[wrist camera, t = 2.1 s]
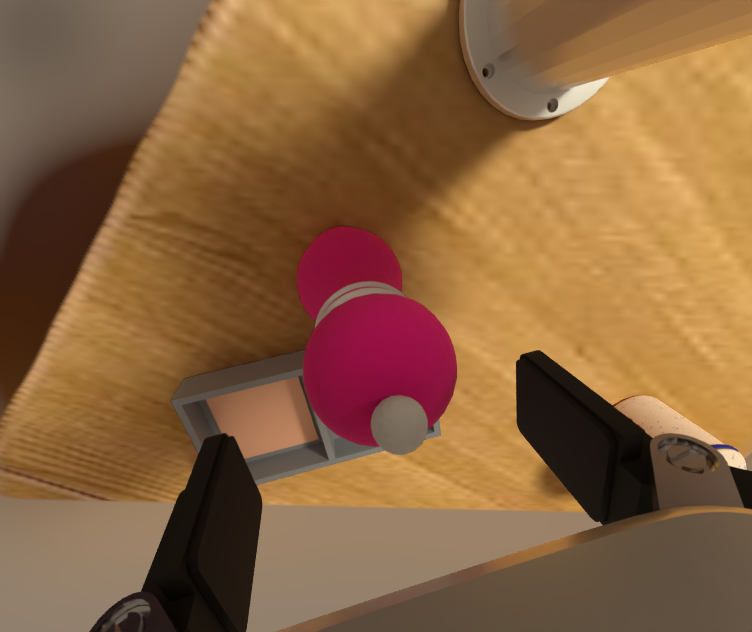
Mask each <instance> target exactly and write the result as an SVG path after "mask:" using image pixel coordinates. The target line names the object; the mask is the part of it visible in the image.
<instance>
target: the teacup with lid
mask: <svg viewBox="0 0 752 632" xmlns="http://www.w3.org/2000/svg"><path fill="white" fill-rule="evenodd" d="M614 407H615V408H616V409H617V410H619V411H620V412H621V413H623V414H624V415H625V416H627V417H628V418H629V419H631V420H632V421H633V422H635V423H636V424H637V425H638V426H640V427H641V428H642V429H644V430H645V432H646V433H647V434H648V435H650V436H651V437H652V438H654V437H655V436H658V435H660V434H666V433H675V434H683V435H687V436H691V437H694V438H696V439H699V440H701V441H704V442H706V443H707V444H709V445H710V446H712V447H714V448H715V449H716V450H717V451H719V452H720V453H721V454H722V455H723V456H724V458H725V460H726V461H727V463H728V466H732V467H736V468H740V469H744V470H746V462H745V460H744V458H743V456H742V455H741V454H740V453H739V451H738V450H737V449H735V448H734V447H732V446H729V445H725V444H723V443H722V442H720V441H719V440H717V439H716V438H714V437H713V436H711V435H710V434H708V433H707V432H705V431H704V430H702V429H701V428H699V427H698V426H697V425H695V424H694V423H692V422H691V421H689V420H688V419H686V418H685V417H683V416H682V415H680V414H679V413H677V412H676V411H674V410H673V409H671V408H670V407H668V406H667V405H665V404H664V403H662V402H661V401H659V400H658V399H656V398H654V397H651V396H646V395H641V396H634V397H631V398H628V399H626V400H624V401H622V402H620V403H618V404H617V405H615V406H614Z"/></svg>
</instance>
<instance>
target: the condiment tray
mask: <svg viewBox="0 0 752 632" xmlns="http://www.w3.org/2000/svg"><path fill="white" fill-rule="evenodd" d="M305 350H306V349H305ZM305 350H301V351H297V352H293V353H289V354H284V355H280V356H276V357H272V358H268V359H264V360H259V361H255V362H251V363H247V364H243V365H238V366H234V367H230V368H226V369H222V370H218V371H213V372H209V373H205V374H201V375H197V376H192V377H188V378H184V379H183V381H182V382H181V384H180V386H179V387H178V389H177V391H176V392H175V394H174V396H173V397H172V399H171V403H172V405H173V407H174V409H175V411H176V412H177V414H178V416H179V418H180V420H181V422H182V424H183V426H184V427H185V429H186V431H187V433H188V435H189V437H190V439H191V441H192V442H193V444H194V446H195V448H196V450H197V452H198V454H199V451H200V449H201V446H202V444H203V441H204V439H205V438H207V437H210V436H214V435H218V434H222V433H226V434H227V435H228V436H234V437H235V439H236V441H237V444H238V446H239V448H240V450H241V452H242V455H243V457H244V459H245V461H246V463H247V466H248V468H249V470H250V472H251V475H252V477H253V479H254V481H255V483H256V485H259V484H263V483H266V482H270V481H274V480H277V479H281V478H285V477H289V476H292V475H296V474H300V473H303V472H307V471H311V470H314V469H318V468H322V467H326V466H329V465H333V464H337V463H340V462H344V461H348V460H352V459H355V458H359V457H363V456H366V455H370V454H374V453H377V452H381V451H385V450H384V449H383V448H382V447H372V446H364V445H359V444H356V443H353V442H351V441H348V440H346V439H344V438H342V437H340V436H338V435H336V434H335V433H334V432H332V431H331V430H330V429H329V428H328V427H327V426H326V425H324V424H323V423H322V421H321V420H320V419H319V417H318V416H317V415H316V413H315V412H314V410H313V408H312V406H311V403H310V401H309V399H308V396H307V393H306V391H305V385H304V379H303V359H304V355H305ZM440 435H441V430H440V422H439V419H438V421H437V422H436V423H435V424H434V425H433V426H432V427H430V428H429V429H428V430H427V435H426V437H425V439H424V440H426V439H429V438H433V437H437V436H440Z"/></svg>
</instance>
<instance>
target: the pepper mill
mask: <svg viewBox="0 0 752 632" xmlns="http://www.w3.org/2000/svg"><path fill="white" fill-rule="evenodd" d="M297 288H298V292H299V296H300V300H301V302H302V305H303V307H304V308H305V310H306V312H307V313H308V314H309V315H310V316H311V318H312V319H313V320H314V321H315V322H316V324H315V329H314V331H313V332H312V335H311V337H310V339H309V341H308V343H307V346H306V350H305V355H304V359H303V379H304V385H305V391H306V393H307V396H308V399H309V401H310V403H311V406H312V408H313V410H314V412H315V413H316V415H317V416H318V417H319V419H320V420H321V421H322V423H323V424H324V425H326V426H327V427H328V428H329V429H330V430H331V431H332V432H334V433H335V434H336V435H338V436H340V437H342V438H344V439H346V440H348V441H351V442H353V443H356V444H359V445H364V446H372V447H382V448H383V449H384V450H385V451H387V452H390V453H392V454H397V455H404V454H407V453H410V452H413V451H415V450H416V449H417V448H418V447H419V446H420V445H421V444H422V443H423V441H424V439H425V437H426V435H427V430H428V429H429V428H430V427H432V426H433V425H434V424H435V423H436V422H437V421H438V419H439V418H440V417H441V416H442V414H443V413H444V412H445V410H446V408H447V406H448V404H449V402H450V400H451V398H452V396H453V392H454V388H455V384H456V379H457V362H456V355H455V351H454V347H453V345H452V342H451V339H450V336H449V335H448V333H447V331H446V330H445V328H444V327H443V325H442V324H441V323H440V322H439V320H438V319H437V318H436V317H435V315H434V314H432V313H431V312H430V311H429V310H428V309H427V308H425V307H424V306H423V305H421V304H420V303H418V302H416V301H414V300H412V299H409V298H407V297H406V296H405V295H404V294H403V293H402V292H401V289H402V273H401V269H400V265H399V262H398V260H397V258H396V256H395V254H394V253H393V251H392V250H391V248H390V247H389V246H388V245H387V244H386V243H385V242H384V241H383V240H382V239H381V238H379V237H378V236H376V235H375V234H373V233H371V232H368V231H366V230H362V229H358V228H354V227H349V226H339V227H334V228H330V229H328V230H326V231H324V232H323V233H321V234H320V235H318V236H317V237H316V238H315V239H314V241H313V242H312V243H311V245H310V246H309V247H308V248H307V250H306V251H305V253H304V254H303V256H302V258H301V260H300V262H299V266H298V270H297Z"/></svg>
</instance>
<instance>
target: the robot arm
mask: <svg viewBox="0 0 752 632" xmlns="http://www.w3.org/2000/svg"><path fill="white" fill-rule="evenodd" d="M459 33H460V43H461V47H462V52H463V57H464V61H465V63H466V66H467V69H468V71H469V74H470V76H471V79H472V80H473V82H474V83H475V85H476V87H477V88H478V90H479V92H480V93H481V94H482V95H483V97H484V98H485V99H486V100H487V101H488V102H489V103H490V104H491V105H492V106H493V107H495V108H496V109H498V110H499V111H501V112H502V113H504V114H506V115H509V116H511V117H514V118H517V119H521V120H531V121H535V120H543V119H549V118H553V117H557V116H561V115H564V114H566V113H568V112H570V111H572V110H574V109H576V108H578V107H580V106H581V105H582V104H584V103H585V102H586V101H588V100H589V99H590V98H592V97H593V96H594V95H595V94H596V93H597V92H598V91H599V90H600V89H601V88H602V87H603V86H604V85H605V84H606V82H607V81H608V79H609V78H610V77H611V76H613V75H617V74H620V73H623V72H627V71H630V70H634V69H637V68H640V67H644V66H647V65H650V64H654V63H657V62H661V61H664V60H667V59H671V58H674V57H677V56H681V55H684V54H688V53H691V52H694V51H698V50H701V49H704V48H708V47H711V46H715V45H718V44H721V43H725V42H728V41H731V40H735V39H738V38H742V37H745V36H748V35H752V0H460V7H459ZM483 70H484V71H485V73H486V75H485V77H484V76H483ZM547 106H548V107H547ZM516 402H517V426H518V428H519V430H520V432H521V434H522V435H523V436H524V437H525V438H526V440H527V441H528V442H529V443H530V444H531V446H532V447H533V448H534V449H535V451H536V452H537V453H538V454H539V455H540V457H541V458H542V459H543V460H544V461H545V463H546V464H547V465H548V466H549V468H550V469H551V470H552V471H553V472H554V474H555V475H556V476H557V477H558V478H559V480H560V481H561V482H562V483H563V485H564V486H565V487H566V488H567V489H568V491H569V492H570V493H571V494H572V495H573V497H574V498H575V499H576V500H577V502H578V503H579V504H580V505H581V506H582V508H583V509H584V510H585V511H586V512H587V514H588V515H589V516H590V517H591V518H592V519H593V520H594V521H596V522H599V521H600V522H601V524H602V525H603V526H600V527H596V528H593V529H590V530H586V531H583V532H580V533H577V534H573V535H571V536H567V537H564V538H561V539H558V540H554V541H551V542H549V543H545V544H542V545H539V546H536V547H532V548H529V549H526V550H523V551H520V552H517V553H514V554H511V555H507V556H504V557H501V558H498V559H495V560H492V561H489V562H486V563H483V564H479V565H476V566H473V567H470V568H467V569H464V570H461V571H458V572H455V573H451V574H449V575H445V576H442V577H439V578H436V579H433V580H430V581H427V582H424V583H421V584H418V585H415V586H411V587H409V588H405V589H402V590H399V591H396V592H393V593H390V594H387V595H384V596H381V597H378V598H375V599H372V600H369V601H366V602H363V603H360V604H357V605H354V606H351V607H348V608H345V609H342V610H339V611H336V612H333V613H330V614H327V615H324V616H320V617H318V618H315V619H311V620H308V621H306V622H302V623H299V624H297V625H294V626H291V627H288V628H285V629H282V630H279V631H277V632H752V471H748V470H744V469H740V468H736V467H732V466H728V463H727V461H726V460H725V458H724V456H723V455H722V454H721V453H720V452H719V451H717V450H716V449H715V448H714V447H712V446H710V445H709V444H707V443H706V442H704V441H701V440H699V439H696V438H694V437H691V436H687V435H683V434H675V433H666V434H660V435H658V436H655V437H654V438H652V437H651V436H650V435H648V434H647V433H646V432H645V430H644V429H642V428H641V427H640V426H638V425H637V424H636V423H635V422H633V421H632V420H631V419H629V418H628V417H627V416H625V415H624V414H623V413H621V412H620V411H619V410H617V409H616V408H615V407H614V406H612V405H611V404H610V403H608V402H607V401H606V400H604V399H603V398H602V397H600V396H599V395H598V394H597V393H595V392H594V391H593V390H591V389H590V388H589V387H587V386H586V385H585V384H583V383H582V382H581V381H580V380H578V379H577V378H576V377H574V376H573V375H572V374H570V373H569V372H568V371H566V370H565V369H564V368H562V367H561V366H560V365H559V364H557V363H556V362H555V361H553V360H552V359H551V358H549V357H548V356H547V355H545V354H544V353H543V352H541V351H540V350H536V351H533V352H529V353H525V354H522V355H521V356H520V360H517V362H516ZM261 513H262V498H261V495H260V492H259V490H258V488H257V486H256V483H255V481H254V479H253V477H252V475H251V472H250V470H249V468H248V466H247V463H246V461H245V459H244V457H243V455H242V452H241V450H240V448H239V446H238V444H237V441H236V439H235V437H234V436H228V435H227V434H226V433H222V434H218V435H214V436H210V437H207V438H205V439H204V441H203V444H202V446H201V449H200V451H199V454H198V457H197V459H196V462H195V465H194V467H193V470H192V473H191V475H190V478H189V481H188V483H187V486H186V488H185V490H183V491H182V492H181V493H180V495H179V496H178V498H177V501H176V503H175V506H174V508H173V511H172V514H171V516H170V519H169V521H168V524H167V527H166V529H165V531H164V534H163V537H162V539H161V542H160V544H159V547H158V549H157V552H156V554H155V557H154V560H153V562H152V565H151V568H150V570H149V573H148V575H147V578H146V580H145V583H144V585H143V588H142V590H141V592H136V593H133V594H131V595H128V596H127V597H124V598H122V599H121V600H120V601H118V602H117V603H115V604H114V605H113V606H112V607H110V608H109V609H108V610H107V611H106V612H105V613H104V614H103V615H102V616H101V617H100V618H99V619H98V621H97V622H96V623H95V625H94V626H93V627H92V629H91V630H90V631H89V632H246V629H247V622H248V614H249V607H250V599H251V590H252V583H253V576H254V568H255V559H256V552H257V544H258V537H259V529H260V521H261Z"/></svg>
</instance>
